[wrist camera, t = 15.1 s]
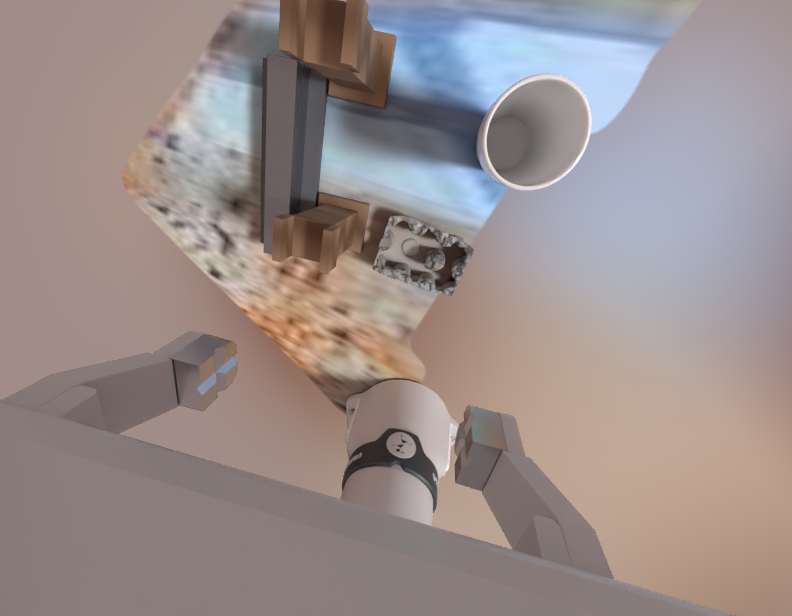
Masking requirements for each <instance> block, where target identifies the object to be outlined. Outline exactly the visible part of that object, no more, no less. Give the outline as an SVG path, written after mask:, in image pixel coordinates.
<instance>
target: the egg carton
mask: <svg viewBox="0 0 792 616" xmlns="http://www.w3.org/2000/svg"><path fill="white" fill-rule="evenodd" d="M400 221H405V222H407V223H408V224H409V229H410V231H411V232H412V233H414V234H416V235H419V236H421V235H423V234H425V233H426V231H427V230H428V229H429V230H430V232H433V233H434V235H435V236H436V241H437V242H438V243H440V244H441V245H442V246H444V247H450V246H451V245H452V244H453V243H455V242H457V243H458V246H459V247H460V248H462V247H463V248H464V251H465V252H466V253H465V254H464V256H463V257H462V258H458V259H456V260H454V262H453V263H452V267H451V268H452V270H451V272H452V274H451V276H450V277H449V279H448V281H447V282H446V283H444V284H443V285H442V286H441V285H437V284H435V278H434V276H433V275H432V274H431V273H428V272H424V273H422V274H420V275H419V276H417V275H412V274H411V269H410V267H409V266H408V265H407V264H405V263H398V264H397V265H396V266H395V267H391V266H389V265H387V260H386V258H385V257H384V256H383V255H382V254H381V251H384V250H388V249H389V248H390V247H391V246H392V245H393V243H394V240H395V236H394V234H393V232H392V231H391V230H389V227H390V226H394V225H396V224H397V223H399V222H400ZM434 231H435V232H436V233H435V232H434ZM463 240H464V239H463V238H462V237H459V236H455V237H454V236H451V235H450V234H448V233H443V232H442V231H440V230H438V229H437V228H436V227H433V226H429V225H427V224H425V223H423V222H421V221H419V220H416V219H413V218H410V217H407V216H391V217H390V218H389V221H388V225H387V227H386V229H385V232H384V236H383V238H382V239H381V241H380V244H379V247H378V248H379V251H378V254H377V257H376V260H375V263H374V265H373V269H374V270H375V271H378V272H379V273H381V274H384V275H386V276H388V277H391V278H394V279H399V280H401V281H403V282H405V283H407V284H411V285H414V286H416V287H419V288H421V289H423V290H428V291H433V292H438V293H445V295H449V296H451V295H452V293H453V292H454V290H455V288H456V286H457V284H458V282H459V280H460V278H461V276H462V274H463V272H464V270H465V268H466V267H467V265H468V263H469V260H470V258H471V256H472V253H473V249H472V248H471V247H470V246H469V245H468V244H466V243H465V242H464V241H463ZM402 250H403V252H404V254H406V255H407V256H415V255H416V254H418V252H419V250H420V246H419V244H418V242H417V241H416V240H414V239H407V240H405V241H404V242H403V244H402ZM444 264H445V254H444V252H443V251H442V250H441V249H439V248H435V249H432V250H430V251H429V252H428V253H427V256H426V260H425V267H426V268H427V269H431V270H433V271H438V270H440V269H442V268H443V266H444Z"/></svg>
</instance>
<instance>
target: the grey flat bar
mask: <svg viewBox="0 0 792 616" xmlns="http://www.w3.org/2000/svg"><path fill="white" fill-rule="evenodd" d="M328 80H329V79H328V78H327V77H325V76H324V75H322V74H321V73H319V72H318V71H316V70H315V69H312V68H310V74H309V88H308V103H307V117H306V132H305V146H304V161H303V175H302V190H301V204H300V213H301V212H304V211H307V210H310V209H312V208H315V207H317V201H318V190H319V179H320V168H321V157H322V146H323V135H324V124H325V113H326V102H327V91H328ZM266 109H267V59H266V58H263V102H262V174H261V243H264V208H265V159H266Z"/></svg>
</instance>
